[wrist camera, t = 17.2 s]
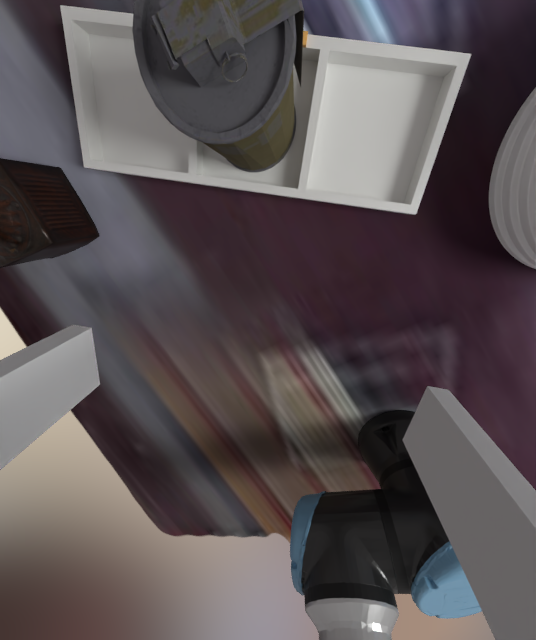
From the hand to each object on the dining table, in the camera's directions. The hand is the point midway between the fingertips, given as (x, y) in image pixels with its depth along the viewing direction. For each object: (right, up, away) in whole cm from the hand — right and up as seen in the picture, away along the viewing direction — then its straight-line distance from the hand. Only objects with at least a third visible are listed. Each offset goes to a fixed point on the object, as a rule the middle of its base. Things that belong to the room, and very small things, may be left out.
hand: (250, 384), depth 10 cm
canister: (-1, +27, +22) cm, 35 cm away
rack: (-1, +27, +22) cm, 35 cm away
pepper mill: (-32, +17, +31) cm, 47 cm away
